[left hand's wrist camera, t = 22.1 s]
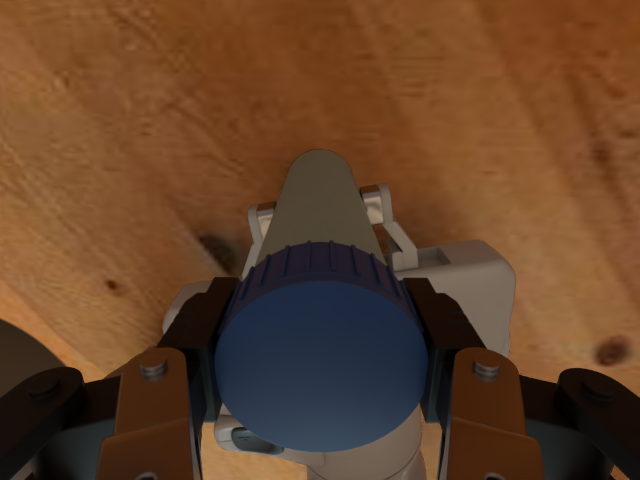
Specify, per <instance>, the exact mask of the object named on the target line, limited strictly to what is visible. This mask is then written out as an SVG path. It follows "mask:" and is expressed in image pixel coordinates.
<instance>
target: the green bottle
mask: <svg viewBox="0 0 640 480" xmlns="http://www.w3.org/2000/svg"><path fill="white" fill-rule="evenodd" d="M309 240H311V242H329V240H333V241H334V243H339V244H345V245H348V246H351V244H353V245H355V247H356V248H358V249H360V250H362V251H365V252H367V253H369V254H371V253H373V254H375V257H376V258H377V259H378V260H380V261H381V262H382V263H383V264H385V265H386V262H385V260H384V257H383V254H382V252H381V249H380V246H379V244H378V241H377V238H376V235H375V233H374V230H373V227H372V225H371V222H370V219H369V217H368V214H367V211H366V209H365V206H364V203H363V201H362V198H361V195H360V193H359V190H358V187H357V185H356V182H355V179H354V177H353V174H352V171H351V169H350V167H349V165H348V164H347V162H346V161H345V160H344V159H343V158H342V157H341V156H339V155H338V154H336V153H334V152H331V151H328V150H312V151H309V152H306V153H304V154H302V155H301V156H300V157H298V158H297V159H296V160H295V161H294V162H293V164H292V165H291V167H290V169H289V171H288V174H287V177H286V180H285V182H284V185H283V188H282V191H281V194H280V196H279V199H278V202H277V205H276V207H275V210H274V213H273V216H272V219H271V221H270V224H269V227H268V230H267V233H266V235H265V238H264V241H263V244H262V246H261V249H260V252H259V255H258V258H257V260H256V263H255V266H256V265H258V264H259V263H260V262H261V261H262V260H264V259H265V257H266V255H267V254H270V255H272V254H274V253H276V252H278V251H280V250H282V249H285V246H287V245H289V246H293V245H298V244H303V243H307V241H309ZM255 266H254V267H255ZM386 266H387V265H386Z"/></svg>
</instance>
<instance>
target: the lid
mask: <svg viewBox="0 0 640 480" xmlns="http://www.w3.org/2000/svg"><path fill="white" fill-rule="evenodd" d="M423 334H425V331H424V329H423V327H422V324H421V322H420V320H419V317H418V315H417V313H416V310H415V308H414V306H413V303H412V301H411V299H410V296H409V295H408V293H407V290H406V288H405V286H404V283H403V281H402V280H398V279H397V278H396V276H395V275H394V273H393V271H392V268H391V267H390V266H389V265H387V266H386V265H385V264H383V263H382V262H381V261H380V260H378V259H377V258H376V257H375V254H373V253H371V254H369V253H367V252H365V251H362V250H360V249H358V248H356V247H355V245H353V244H351V246H348V245H345V244H339V243H334V241H333V240H329V242H311V240H309V241H307V243H303V244H298V245H293V246H289V245H287V246H285V249H282V250H280V251H278V252H276V253H274V254H272V255H270V254H267V255H266V257H265V259H264V260H262V261H261V262H260V263H259V264H258V265H256V266H255V267H253V266H252V267H251V268H250V270H249V272H248V275H247V276H246V277H245V279H244V280H243V282H241V281H239V283H238V285H237V288H236V290H235V293H234V295H233V298H232V299H231V301H230V304H229V306H228V308H227V311H226V313H225V316H224V318H223V321H222V323H221V325H220V328H219V330H218V333H217V335H218V336H219V339H218V341H217V344H216V348H215V352H214V365H215V373H216V381H217V388H218V393H219V395H220V398H221V400H222V402H223V403H224V405H225V406H226V408H227V410H228V411H229V412H230V413H231V415H232V416H233V417H234V418H235V419H236V420H237V421H238V422H239V423H240V424H241V425H242V426H243V427H245V428H246V429H248V430H249V431H250V432H252V433H253V434H255V435H257V436H258V437H260V438H262V439H264V440H266V441H268V442H270V443H273V444H275V445H278V446H281V447H284V448H288V449H293V450H297V451H305V452H319V453H326V452H338V451H344V450H350V449H354V448H357V447H361V446H364V445H367V444H369V443H372V442H374V441H376V440H378V439H380V438H382V437H384V436H386V435H387V434H389V433H390V432H392V431H393V430H395V429H396V428H397V427H398V426H400V425H401V424H402V423H403V422H404V421H405V420H406V419H407V418H408V417H409V416H410V415H411V414H412V412H413V411H414V410H415V408H416V407H417V406H418V404H419V402H420V400H421V398H422V396H423V394H424V389H425V382H426V375H427V367H428V358H429V355H428V349H427V346H426V343H425V340H424V337H423Z"/></svg>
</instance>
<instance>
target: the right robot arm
mask: <svg viewBox="0 0 640 480" xmlns="http://www.w3.org/2000/svg"><path fill="white" fill-rule="evenodd" d="M359 190H360V195H361V198H362V201H363V203H364V206H365V209H366V211H367V214H368V217H369V219H370V222H371V225H374V224H382V226H383V227H384V228H385V229H386V231H387V232H388V233H389V234H390V236H391V237H392V238H388V239H387V240H386V247H387V253H386V254H383V257H384V260H385V262H386V265H389V266H390V267H391V268H392V271H393V273H394V275H395V276H396V278H397V279H398V280H402V279H403V278H428V279H429V281H430V283H431V284H432V286H433V288H434V290H435V292H436V293H446V294H447V295H448V296H450V297H451V298H453V299H454V300H455V301H457V302H458V304H459V305H460V307H461V308H462V310H463V312H464V314H465V315H466V316H467V318H468V319H469V323H471V324H472V326H473V327H474V329H475V330H476V332H477V334H478V335H479V337H480V338H481V340H482V341H483V343H484V345H485V346H486V348H487V349H489V350H492V351H495V352H497V353H499V354H501V355H503V356H505V357H506V358H508V355H509V343H510V335H509V325H510V321H511V315H512V310H513V303H514V295H515V285H516V276H515V272H514V270H513V268H512V266H511V265H510V264H509V262H508V261H507V260H506V259H505V258H504V257H503V256H502V255H501V254H500V253H499V252H498V251H496V250H495V249H494V248H492V247H491V246H490V245H488V244H487V243H486V242H484V241H482V240H470V241H464V242H457V243H451V244H444V245H438V246H431V247H425V248H418V249H417V248H416V246H415V245H414V243H413V241H412V240H411V238H410V236H409V235H408V233H407V232H406V231H405V230H404V228H403V227H402V226H401V225H400V223H399V222H398V221H397V220H396V218H395V217H394V216H393V213H392V204H391V195H390V191H389V187H388V186H387V184H386V183H382V184H376V185H370V186H365V187H360V188H359ZM276 205H277V202H269V203H262V204H255V205H251V206H250V208H249V209H248V222H249V226H250V230H251V233H252V237H253V243H252V246H251V249H250V252H249V255H248V258H247V261H246V264H245V267H244V270H243V273H242V276H236V277H239V279H240V281H241V282H243V280H244V279H245V277H246V276H247V275H248V272H249V270H250V268H251V267H252V266H253V267H254V266H255V263H256V260H257V258H258V255H259V252H260V249H261V246H262V244H263V241H264V238H265V235H266V233H267V230H268V227H269V224H270V221H271V219H272V216H273V213H274V210H275V207H276ZM212 281H213V280H210V281H204V282H197V283H191V284H188V285H186V286H184V287H183V288H182V289H181V291H180V292H179V293H178V295H177V296H176V297H175V299H174V300H173V301H172V303H171V305H170V306H169V308H168V310H167V312H166V314H165V317H164V319H163V324H162V329H163V334H165V332H166V331H167V329H168V328H169V326H170V324H171V323H172V322H173V320H174V318H175V316H176V315H177V313H179V310H180V308H181V307H182V305H183V304H184V302H185V301H186V300H188V299H189V298H190V297H192V296H193V295H194V294H196V293H206V291H207V290H208V288H209V286H210V284H211V282H212ZM214 436H215V439H216V441H217V443H218V445H219V446H220V447H222V448H223V449H226V450H229V451H236V452H245V453H253V454H261V455H267V456H273V457H278V458H283V459H287V460H291V461H294V462H297V463H300V464H304V465H306V466H307V480H427V479H426V469H425V463H424V459H423V456H422V453H421V451H420V446H421V440H422V424H421V413H420V403H419V404H418V406H417V407H416V408H415V410H414V411H413V412H412V414H411V415H410V416H409V417H408V418H407V419H406V420H405V421H404V422H403V423H402V424H401V425H400V426H398V427H397V428H396V429H395V430H393V431H392V432H390V433H389V434H387V435H386V436H384V437H382V438H380V439H378V440H376V441H374V442H372V443H369V444H367V445H364V446H361V447H357V448H354V449H350V450H344V451H338V452H326V453H319V452H305V451H297V450H293V449H288V448H284V447H281V446H278V445H275V444H273V443H270V442H268V441H266V440H264V439H262V438H260V437H258V436H257V435H255V434H253V433H252V432H250V431H249V430H248V429H246V428H245V427H243V426H242V425H241V424H240V423H239V422H238V421H237V420H236V419H235V418H234V417H233V416H232V415H231V413H230V412H229V411H228V410H227V408H226V406H225V405H224V403H222V407H221V410H220V413H219V416H218V420H217V422H215V424H214Z"/></svg>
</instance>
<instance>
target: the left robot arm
mask: <svg viewBox="0 0 640 480" xmlns="http://www.w3.org/2000/svg"><path fill="white" fill-rule="evenodd" d="M239 281H240V279H239V277H215V278H214V279H213V281H212V282H211V284H210V286H209V288H208V290H207V291H206V293H196V294H194V295H193V296H192V297H190V298H189V299H188V300H186V301H185V302H184V304H183V305H182V307H181V308H180V310H179V313H177V315H176V316H175V318H174V320H173V322H172V323H171V324H170V326H169V328H168V329H167V331H166V332H165V334H164V336H163V337H162V339H161V340H160V342H159V343H158V345H157V347H156V348H155V349H151V350H148V351H145V352H143V353H141V354H139V355H137V356H135V357H134V358H132V359H131V360H130V361H129V362H128V363H127V364H126V365H125V366H124V368H123V370H122V373H121V375H119V376H115V377H111V378H107V379H102V380H97V381H93V382H88V383H84V380H83V376H82V374H81V372H80V371H79V370H77V369H75V368H72V367H58V368H53V369H49V370H45V371H42V372H40V373H37V374H35V375H33V376H31V377H29V378H27V379H25V380H24V381H22V382H21V383H19V384H18V385H17V386H15V387H14V388H13V389H11V390H10V391H9V392H7V393H6V394H5V395H3V396H2V397H1V398H0V480H10V479H11V478H12V477H13V476H14V475H15V474H16V473H17V472H18V471H19V470H20V469H21V468H22V467H23V466H24V465H25V464H26V463H27V462H28V461H29V464H30V466H31V469H32V471H33V472H32V473H31V474H30V475H29V476H28V477H27V478H26V479H25V480H203V472H202V462H201V453H200V443H199V437H198V435H199V432H200V429H201V427H202V424H203V422H217V420H218V416H219V413H220V410H221V407H222V403H223V402H222V400H221V398H220V395H219V393H218V388H217V381H216V373H215V365H214V352H215V348H216V344H217V341H218V339H219V336H218V335H217V333H218V330H219V328H220V325H221V323H222V321H223V318H224V316H225V313H226V311H227V308H228V306H229V304H230V301H231V299H232V298H233V295H234V293H235V290H236V288H237V285H238V283H239ZM402 281H403V283H404V286H405V288H406V290H407V293H408V295H409V296H410V299H411V301H412V303H413V306H414V308H415V310H416V313H417V315H418V317H419V320H420V322H421V324H422V327H423V329H424V331H425V334H423V337H424V340H425V343H426V346H427V349H428V355H429V358H428V367H427V375H426V382H425V389H424V394H423V396H422V398H421V400H420V402H419V403H420V406H421V409H422V412H423V415H424V419H425V422H426V423H440V425H441V428H442V437H441V443H440V453H439V462H438V472H437V480H615V479H614V478H613V477H612V476H611V475H610V474H611V472H612V469H613V467H614V464H615V465H616V466H617V467H618V468H619V469H620V470H621V471H622V472H623V473H624V474H625V475H626V476H627V477H628V478H629V479H630V480H640V398H639V397H638V396H637V395H635V394H634V393H633V392H631V391H630V390H629V389H627V388H626V387H625V386H623V385H622V384H620V383H619V382H618V381H616V380H614V379H612V378H611V377H608V376H606V375H604V374H602V373H599V372H596V371H593V370H588V369H583V368H570V369H566V370H564V371H563V372H562V373H561V374H560V376H559V379H558V382H557V384H556V383H552V382H547V381H542V380H538V379H533V378H529V377H525V376H522V375H519V373H518V370H517V368H516V366H515V365H514V364H513V363H512V362H511V361H510V360H509V359H508V358H506V357H505V356H503V355H501V354H499V353H497V352H495V351H492V350H489V349H487V348H486V346H485V345H484V343H483V341H482V340H481V338H480V337H479V335H478V334H477V332H476V330H475V329H474V327H473V326H472V324H471V323H469V319H468V318H467V316H466V315H465V314H464V312H463V310H462V308H461V307H460V305H459V304H458V302H457V301H455V300H454V299H453V298H451V297H450V296H448V295H447V294H446V293H436V292H435V290H434V288H433V286H432V284H431V283H430V281H429V279H428V278H403V279H402Z"/></svg>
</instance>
